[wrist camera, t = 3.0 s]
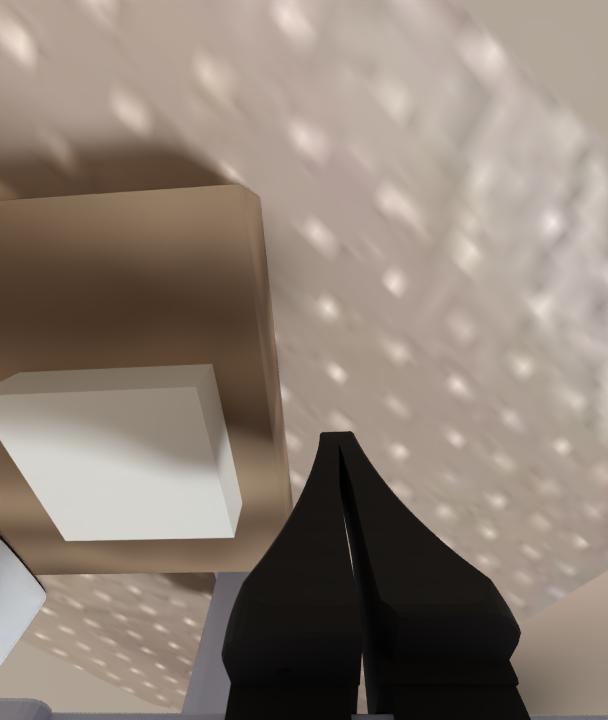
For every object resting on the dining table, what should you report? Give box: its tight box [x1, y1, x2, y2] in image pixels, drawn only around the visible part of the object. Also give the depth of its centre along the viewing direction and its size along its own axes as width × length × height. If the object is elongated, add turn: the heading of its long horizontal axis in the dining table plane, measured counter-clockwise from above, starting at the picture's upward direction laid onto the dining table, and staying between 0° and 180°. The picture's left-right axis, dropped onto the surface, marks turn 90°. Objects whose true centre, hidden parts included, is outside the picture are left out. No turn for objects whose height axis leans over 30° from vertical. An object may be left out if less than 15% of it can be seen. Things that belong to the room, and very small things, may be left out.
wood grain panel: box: [0, 184, 293, 575], centre depth 15 cm, size 20×16×4 cm
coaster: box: [0, 364, 242, 541], centre depth 12 cm, size 8×8×2 cm
